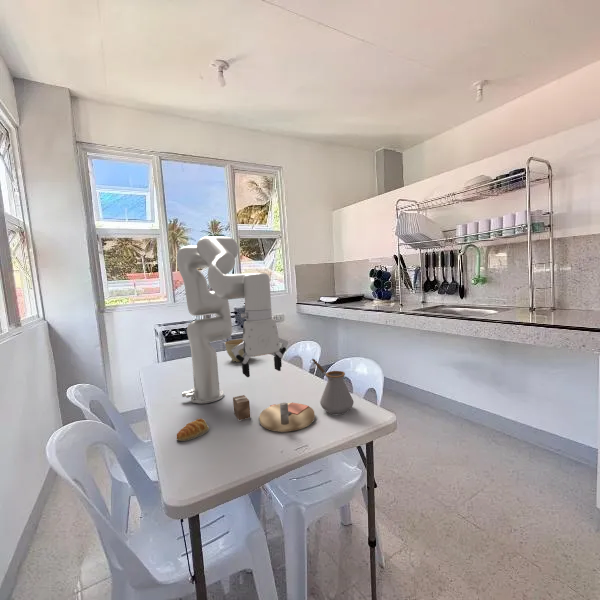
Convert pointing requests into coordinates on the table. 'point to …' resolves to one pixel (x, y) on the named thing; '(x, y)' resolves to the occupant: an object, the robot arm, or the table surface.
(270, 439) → the table surface
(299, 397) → the table surface
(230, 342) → the planter bowl
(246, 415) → the cardboard box
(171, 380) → the table surface
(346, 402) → the coffee pot
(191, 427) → the pastry
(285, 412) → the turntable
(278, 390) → the table surface
